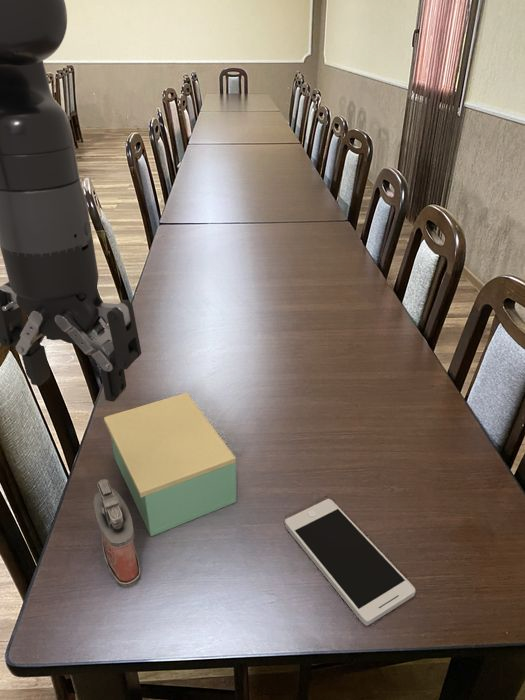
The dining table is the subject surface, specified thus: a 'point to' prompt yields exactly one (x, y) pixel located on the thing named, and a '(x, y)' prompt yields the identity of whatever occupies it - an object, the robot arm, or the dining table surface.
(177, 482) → the lunchbox lid
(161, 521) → the box
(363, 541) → the smartphone
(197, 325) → the dining table surface
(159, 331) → the dining table surface
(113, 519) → the lighter
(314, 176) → the dining table surface
